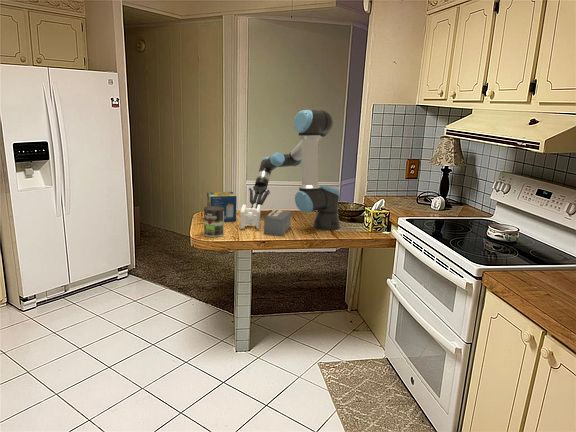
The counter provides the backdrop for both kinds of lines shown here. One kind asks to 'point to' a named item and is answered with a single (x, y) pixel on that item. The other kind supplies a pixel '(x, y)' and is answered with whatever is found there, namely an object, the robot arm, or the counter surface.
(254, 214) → the cable organizer
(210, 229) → the coffee can
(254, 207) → the robot arm
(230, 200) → the protein box
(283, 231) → the grey box
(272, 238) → the counter surface
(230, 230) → the counter surface
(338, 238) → the counter surface
